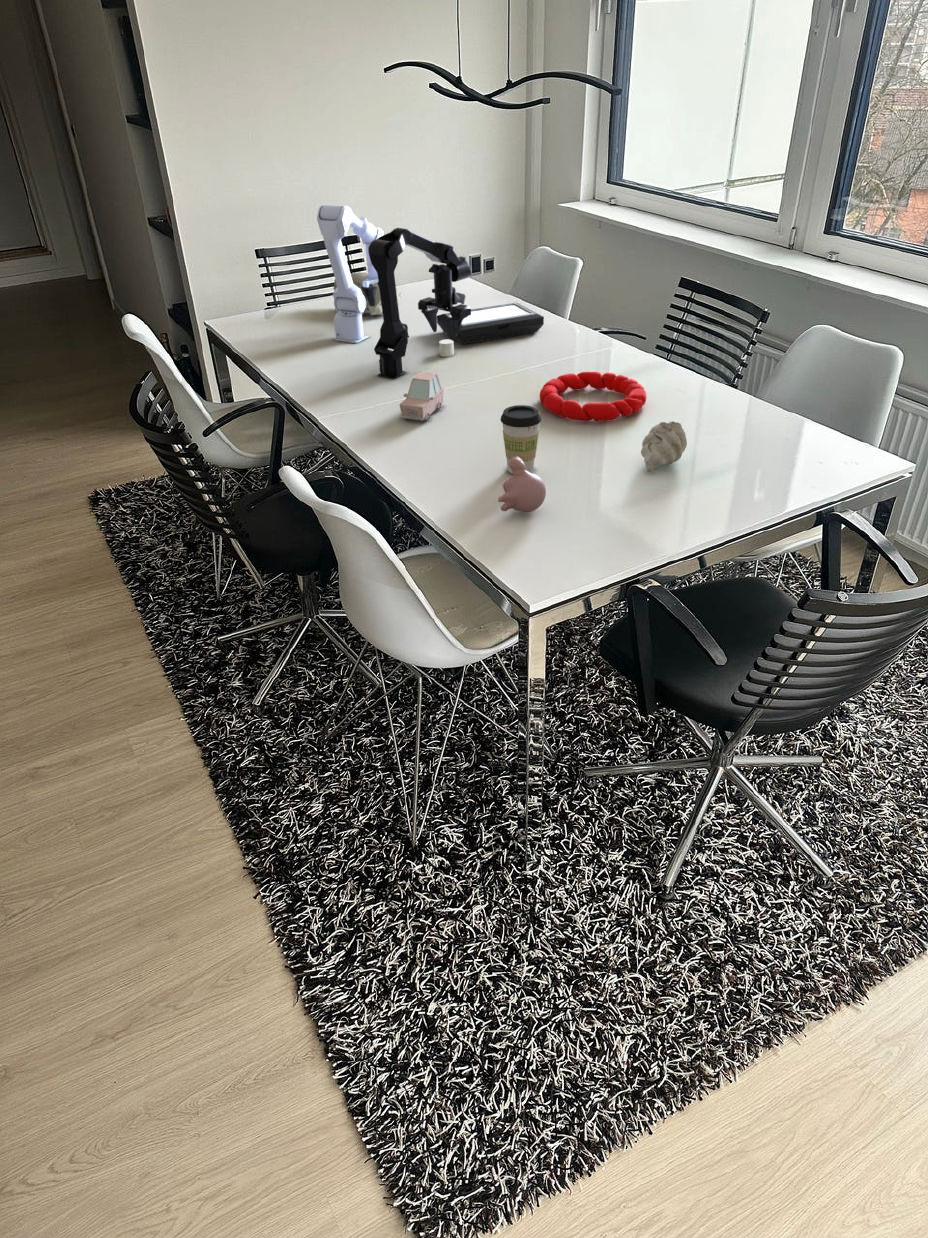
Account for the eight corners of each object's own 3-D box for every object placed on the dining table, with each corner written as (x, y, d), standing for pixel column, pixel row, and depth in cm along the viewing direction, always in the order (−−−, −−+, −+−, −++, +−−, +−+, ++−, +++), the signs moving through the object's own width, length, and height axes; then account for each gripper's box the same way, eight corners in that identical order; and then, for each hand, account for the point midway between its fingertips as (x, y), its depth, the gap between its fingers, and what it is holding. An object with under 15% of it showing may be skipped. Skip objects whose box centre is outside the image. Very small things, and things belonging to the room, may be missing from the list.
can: (439, 352, 297) (438, 339, 295) (453, 351, 297) (452, 338, 295) (440, 357, 293) (439, 344, 291) (454, 356, 293) (454, 343, 291)
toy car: (396, 421, 248) (393, 386, 242) (418, 402, 260) (416, 368, 254) (427, 425, 245) (425, 390, 239) (448, 405, 257) (447, 371, 251)
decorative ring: (525, 401, 245) (634, 402, 234) (555, 365, 268) (655, 365, 258) (527, 426, 249) (634, 428, 238) (556, 389, 272) (655, 390, 261)
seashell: (697, 464, 220) (702, 426, 214) (648, 478, 214) (652, 439, 208) (671, 449, 227) (675, 412, 222) (623, 462, 222) (626, 424, 216)
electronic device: (459, 327, 297) (436, 313, 313) (460, 346, 301) (437, 331, 316) (543, 314, 308) (517, 300, 323) (543, 332, 311) (517, 318, 326)
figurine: (490, 509, 203) (489, 460, 196) (532, 497, 207) (532, 449, 201) (510, 525, 197) (510, 475, 190) (552, 512, 201) (554, 463, 194)
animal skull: (363, 342, 338) (386, 304, 323) (318, 293, 338) (340, 252, 323) (389, 330, 349) (414, 293, 335) (347, 283, 350) (369, 244, 335)
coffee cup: (511, 481, 215) (511, 422, 206) (494, 465, 222) (493, 408, 214) (547, 473, 218) (549, 414, 209) (529, 458, 225) (530, 401, 217)
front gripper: (482, 283, 282) (482, 333, 291) (439, 275, 293) (441, 323, 302) (458, 291, 276) (460, 342, 284) (415, 282, 286) (418, 331, 295)
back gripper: (372, 269, 307) (376, 309, 315) (395, 260, 317) (398, 299, 325) (356, 267, 310) (359, 307, 318) (379, 258, 320) (382, 297, 328)
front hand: (445, 334), depth 292 cm, fingers open, 9 cm apart
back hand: (378, 303), depth 322 cm, fingers open, 7 cm apart
